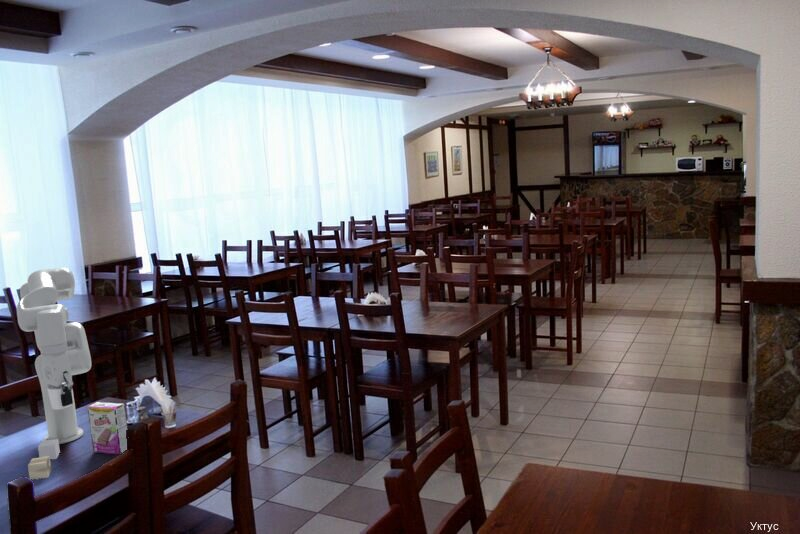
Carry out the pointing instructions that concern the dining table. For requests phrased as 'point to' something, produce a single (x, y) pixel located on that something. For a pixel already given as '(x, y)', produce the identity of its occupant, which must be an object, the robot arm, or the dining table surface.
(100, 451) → the candy bar box
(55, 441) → the grey block
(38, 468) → the birch block
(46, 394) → the robot arm
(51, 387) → the white cup
